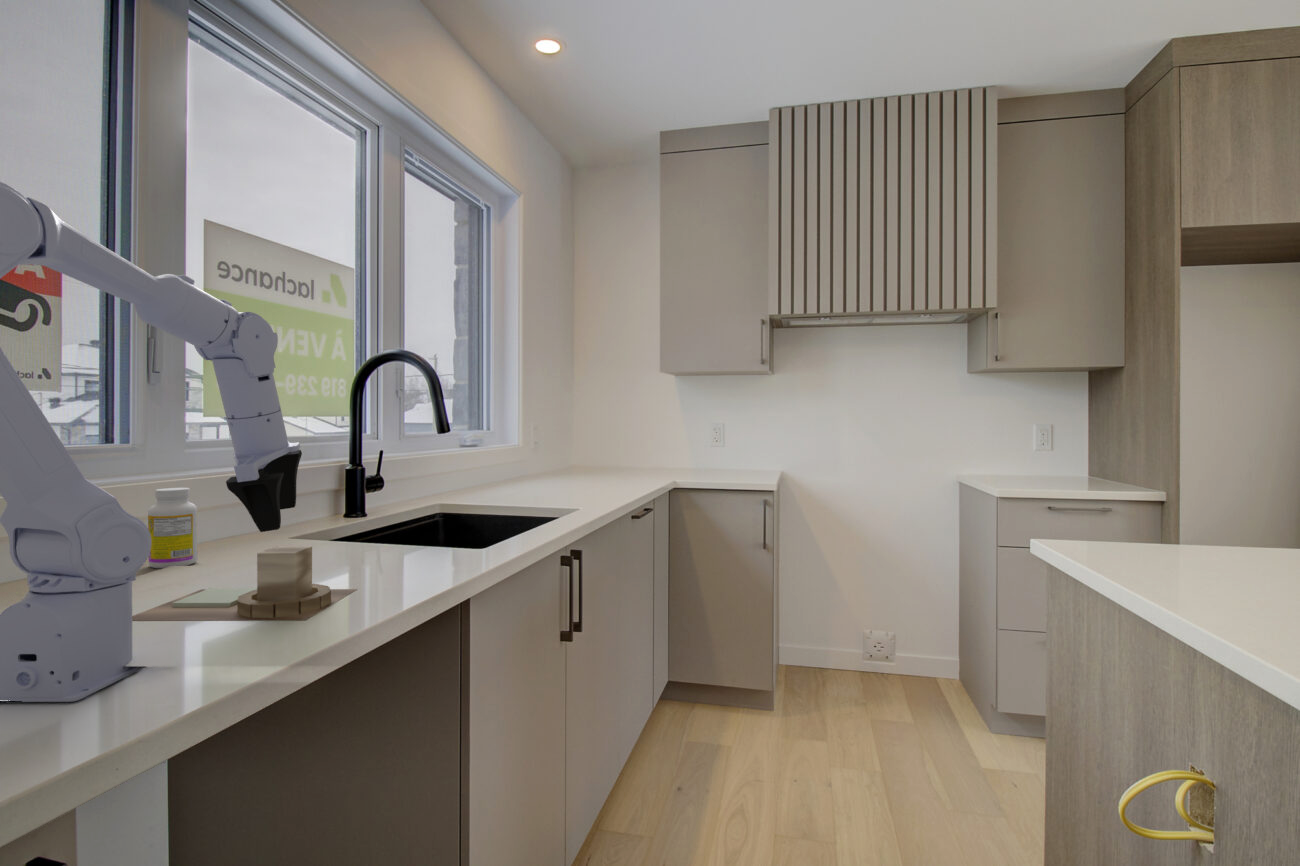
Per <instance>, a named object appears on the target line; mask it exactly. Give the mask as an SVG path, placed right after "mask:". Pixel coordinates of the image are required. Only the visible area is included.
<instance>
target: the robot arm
mask: <svg viewBox="0 0 1300 866" xmlns="http://www.w3.org/2000/svg"><path fill="white" fill-rule="evenodd" d="M19 265H20V266H22V265H23V266H27V265H28V266H35V265H36V266H44V267H46V268H49V269H51V270H52V271H53V270H54V271H55V272H58V273H61V274H62V275H65V276H66V277H67V276H68V277H70V278H72V279H74V280H76V281H79V282H81V283H84V284H86V285H88V286H91V287H92V288H95V289H97V290H99V291H102V292H105V293H107V294H110V295H112V296H113V297H116V298H119V299H120V300H123V301H126V302H128V303H131V304H132V305H133V306H134V309H135V312H136V314H137V316H138V318H139V319H140V320H141V321H142V322H143V323H145V324H147V325H149V326H152V327H154V328H156V329H158V330H160V331H162V332H165V333H166V334H168V335H170V336H173V337H175V338H177V339H179V340H181V341H184V342H186V343H188V344H191V345H192V346H193V347H194V348H195V350H196V352H197V353H198V355H199V356H200V357H201V358H202V359H203V360H205V361H210V362H212V366H213V370H214V373H215V374H214V375H215V378H216V383H217V386H218V389H219V393H220V394H219V395H220V397H221V401H222V405H223V410H224V413H225V419H226V423H227V426H228V431H229V435H230V438H231V442H232V447H233V450H234V452H233V454H232V455H233V459H234V461H235V464H234V466H233V469H234V472H235V475H234V476H231V477H229V478H228V479H227V480H226V481H225V484H226V487H227V489H228V491H230V492H231V493H232V494H233V495H234V496H236V497H237V499H238V500H239V501H240V502H241V503H242V504H243V506H244V507H245V508H246V510H247V511H248V514H249V515H250V517H251V519H252V521H253V523H254V524H255V526H256V528H257V529H258V531H259V532H260V533H263V532H264V533H265V532H270V531H271V532H272V531H277V530H279V529H280V528H281V525H282V524H281V523H282V515H281V514H282V513H281V510H287V509H293V508H295V507H296V506H297V504H296V503H297V478H298V471H299V465H300V461H301V458H302V455H303V452H302V449H301V445H300V442H297V441H296V442H290V441H289V440H288V439H289V438H288V435H287V431H286V430H287V429H286V426H285V421H284V417H283V413H282V407H281V403H280V399H279V394H278V389H277V386H276V382H275V381H276V380H275V377H274V373H275V368H276V364H275V353H276V350H277V348H278V341H279V340H278V333H277V332H274V331H273V328H272V326H271V325H270V324H269V322H268V321H267V320H266V319H265V318H263V317H262V316H261V315H260V314H258V313H255V312H252V311H243V312H241V311H238V310H237V309H236V308H234V307H233V304H232V303H231V302H230V301H228V300H226V299H225V298H224V299H219V298H216V297H215V296H213V295H211V294H209V293H208V292H206V291H204V290H202V289H200V288H198V287H197V286H195V285H194V284H195V280H194V279H193V278H191V277H189V276H187V275H186V274H179V275H177V274H171V273H166V274H163V273H162V274H161V275H156V276H155V275H152V274H151V273H148V272H147V271H146V270H144V269H142V268H141V267H140V266H137V265H136V264H134V263H132V261H129V260H127V259H126V258H125V257H123V256H121V255H119V254H118V253H116V252H114V251H112V250H111V249H109V248H107V247H106V246H104V244H101V243H99V242H98V241H96V240H94V239H93V238H91V237H90V236H88V235H86V234H85V233H83V232H82V231H80V230H79V229H77V228H75V227H73V226H72V225H70V224H68V223H67V222H65V221H63V220H62V219H61V218H60V217H59V216H58V215H57V214H56V213H55V212H54V211H53V210H52V209H51V207H50V206H48V204H45V203H44V202H42V201H39V200H36V199H33V198H32V197H29V196H28V197H26V196H24V194H22V193H21V192H19V191H18V190H17V189H15V188H14V187H12V186H11V185H8V184H7V183H5V182H1V181H0V279H1V278H3V277H4V276H6V275H7V274H9V272H11V271H12V270H14V269H15V268H16V267H18V266H19ZM0 495H1V497H2V498H3V499H4V501H5V502H6V507H5V508H4V510H3V512H2V513H1V515H0V524H1V526H2V527H3V528H4V530H5V531H6V534H7V537H8V540H9V542H8V543H9V555H10V559H11V560H12V562H13V564H14V565H15V567H17V568H18V569H19V570H20V571H22V572H24V573H25V574H26V575H27V580H26V581H27V586H28V592H27V593H26V595H25V596H24V597H23V598H22V599H21V600H20V601H18V602H16V603H14V604H12V605H10V606H8V607H7V608H5V609H4V610H3V611H1V613H0V700H8V701H9V700H10V701H22V702H21V703H52V702H53V703H55V702H56V703H59V702H60V703H64V702H65V703H69V702H70V703H72V702H77V701H80V700H82V699H83V698H86V697H88V696H89V695H92V694H94V693H96V692H98V691H100V690H101V689H104V688H106V687H108V686H111V685H112V684H114V683H116V682H118V681H120V680H122V679H125V678H126V677H128V676H130V675H132V674H134V673H137V672H138V671H140V670H143V669H144V668H146V667H147V665H146V666H145V665H141V666H138V665H137V666H136V665H135V666H130V665H129V666H128V665H127V664H129V663H131V661H132V660H133V621H132V616H133V582H134V581H136V580H137V579H136V578H137V577H136V575H137V574H136V573H137V572H138V571H139V570H140V569H141V568H142V567H143V566H144V565H145V563H146V562H147V560H148V559H149V553H150V550H151V535H150V532H149V529H148V526H147V525H146V524H145V522H144V521H142V520H141V519H140V518H138V517H136V516H134V515H133V514H130V513H128V512H127V511H126V510H125V509H124V508H123V507H122V506H121V504H120V502H119V501H118V500H117V497H115V496H114V495H113V494H111V493H109V492H108V491H107V490H105V489H103V488H101V487H100V486H98V485H97V484H95V483H93V482H92V481H90V480H88V479H87V478H86V477H85V476H84V475H83V472H81V470H80V469H79V467H78V466H77V464H76V462H75V461H74V459H73V458H72V456H71V454H70V453H69V452H68V450H67V448H66V446H65V445H64V443H63V442H62V441H61V439H60V437H59V435H57V433H56V431H55V430H54V428H53V427H52V424H51V423H50V422H49V420H48V418H47V417H46V416H45V414H44V413H43V411H42V410H41V408H40V406H39V405H38V403H37V402H36V401H35V399H34V397H33V395H32V394H31V392H30V391H29V389H28V388H27V386H26V384H25V383H24V381H23V380H22V379H21V377H20V376H19V374H18V372H17V371H16V369H15V368H14V366H13V365H12V363H11V361H10V360H9V358H8V357H7V355H6V353H5V352H4V350H3V348H1V346H0ZM126 665H127V666H126Z"/></svg>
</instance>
